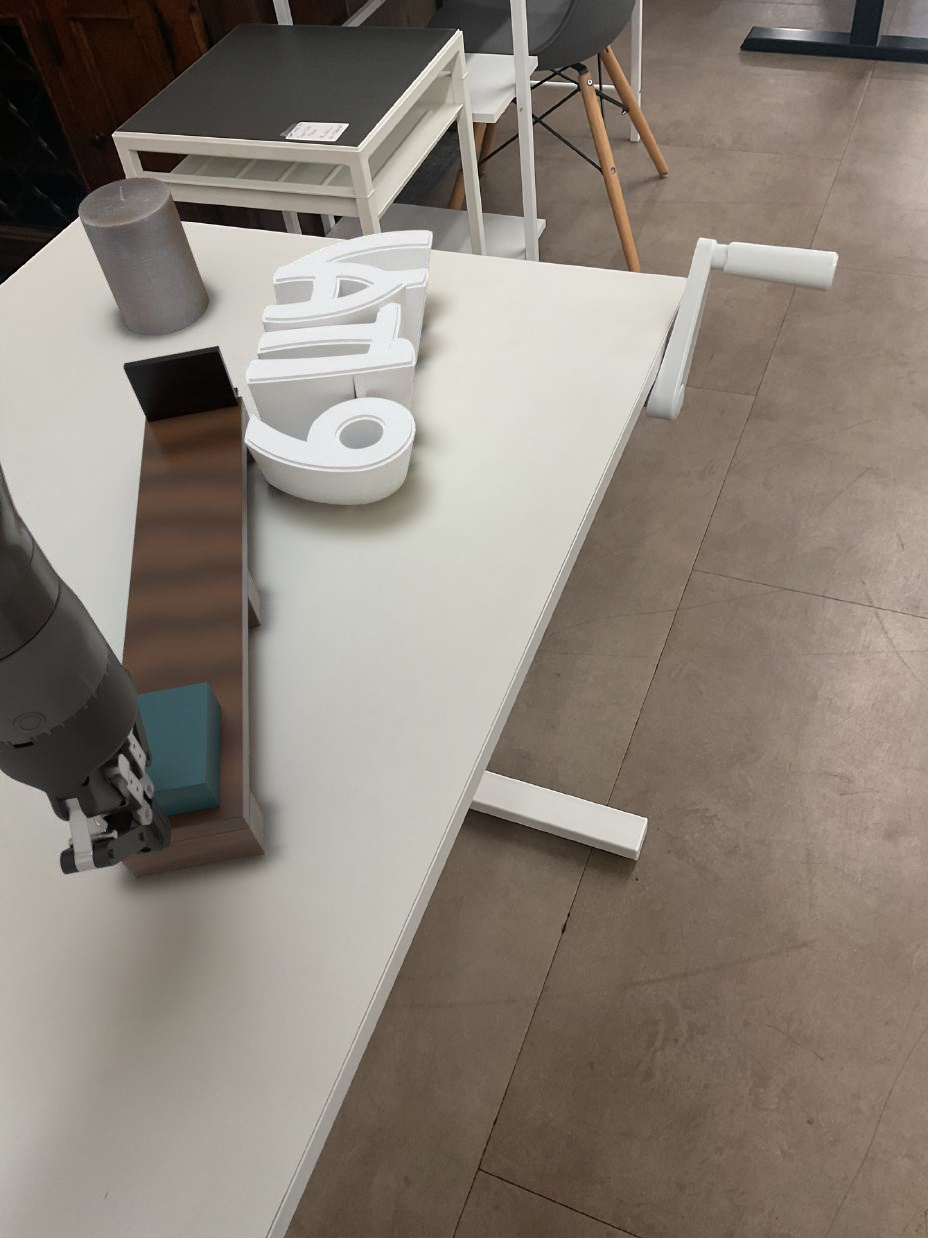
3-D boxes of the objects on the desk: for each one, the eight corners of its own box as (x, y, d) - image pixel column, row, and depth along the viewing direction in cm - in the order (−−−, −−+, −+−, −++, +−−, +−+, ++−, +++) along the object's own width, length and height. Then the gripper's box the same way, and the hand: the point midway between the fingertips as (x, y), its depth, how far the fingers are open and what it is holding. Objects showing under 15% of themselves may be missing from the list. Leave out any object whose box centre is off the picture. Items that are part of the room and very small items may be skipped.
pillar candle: (161, 284, 118) (112, 159, 107) (228, 298, 115) (184, 170, 103) (108, 332, 113) (51, 205, 101) (176, 348, 109) (125, 218, 98)
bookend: (238, 405, 92) (218, 350, 87) (147, 422, 92) (123, 368, 87) (238, 390, 93) (219, 335, 89) (149, 407, 93) (125, 353, 89)
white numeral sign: (311, 308, 111) (287, 218, 103) (458, 300, 109) (446, 208, 101) (239, 538, 89) (202, 448, 81) (422, 535, 87) (402, 442, 79)
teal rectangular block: (219, 806, 65) (205, 783, 63) (128, 823, 65) (110, 800, 63) (221, 706, 70) (208, 681, 68) (136, 722, 70) (120, 697, 68)
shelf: (267, 858, 69) (242, 816, 64) (138, 882, 69) (104, 842, 64) (259, 445, 97) (241, 395, 93) (167, 462, 97) (145, 413, 93)
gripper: (-27, 583, 52) (104, 759, 65) (-79, 807, 44) (83, 957, 57) (116, 556, 52) (218, 738, 65) (92, 775, 44) (214, 933, 57)
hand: (155, 840), depth 61 cm, fingers closed
